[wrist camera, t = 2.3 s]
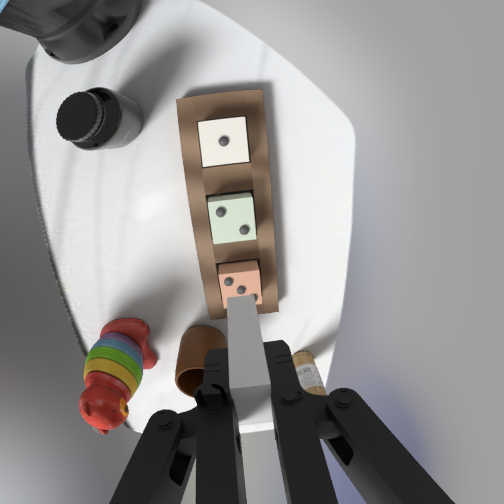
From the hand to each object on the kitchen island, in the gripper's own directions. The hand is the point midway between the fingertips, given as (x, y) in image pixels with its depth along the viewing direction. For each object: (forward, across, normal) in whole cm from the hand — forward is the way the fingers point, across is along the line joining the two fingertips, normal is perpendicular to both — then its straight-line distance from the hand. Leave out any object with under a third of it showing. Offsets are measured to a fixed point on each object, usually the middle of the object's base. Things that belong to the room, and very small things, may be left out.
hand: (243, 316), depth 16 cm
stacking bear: (+22, -21, -19) cm, 36 cm away
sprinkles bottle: (+23, +9, -27) cm, 36 cm away
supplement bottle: (+22, -13, +15) cm, 29 cm away
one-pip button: (+20, 0, +10) cm, 22 cm away
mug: (+22, -7, -22) cm, 32 cm away
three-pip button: (+20, 0, -8) cm, 22 cm away
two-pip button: (+20, 0, +1) cm, 20 cm away
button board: (+22, 0, +1) cm, 22 cm away
